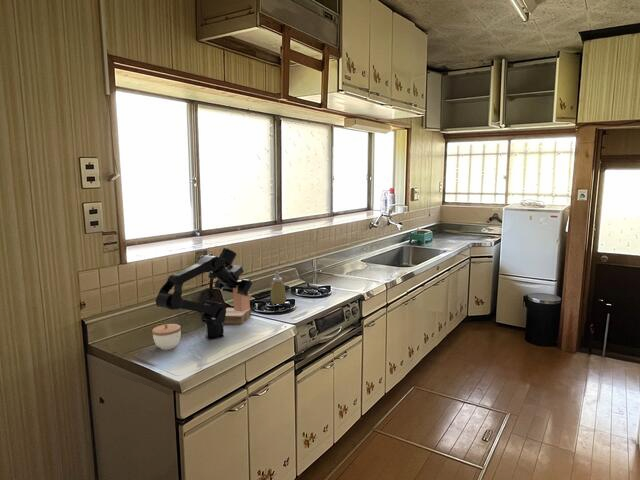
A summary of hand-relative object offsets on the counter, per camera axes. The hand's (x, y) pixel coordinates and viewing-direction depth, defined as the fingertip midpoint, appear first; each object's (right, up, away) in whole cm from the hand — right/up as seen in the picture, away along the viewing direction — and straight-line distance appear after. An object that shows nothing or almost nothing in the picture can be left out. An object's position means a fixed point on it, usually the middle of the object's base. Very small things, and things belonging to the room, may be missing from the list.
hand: (243, 294), depth 197 cm
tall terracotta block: (0, -7, 0) cm, 7 cm away
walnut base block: (-5, -13, +8) cm, 16 cm away
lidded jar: (-26, -18, -23) cm, 39 cm away
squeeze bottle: (+14, -9, +27) cm, 32 cm away
